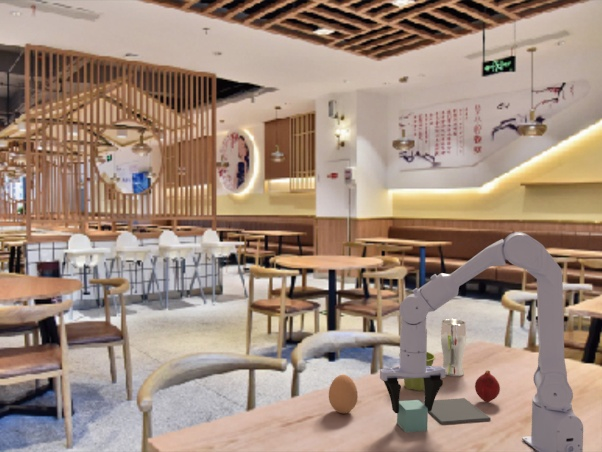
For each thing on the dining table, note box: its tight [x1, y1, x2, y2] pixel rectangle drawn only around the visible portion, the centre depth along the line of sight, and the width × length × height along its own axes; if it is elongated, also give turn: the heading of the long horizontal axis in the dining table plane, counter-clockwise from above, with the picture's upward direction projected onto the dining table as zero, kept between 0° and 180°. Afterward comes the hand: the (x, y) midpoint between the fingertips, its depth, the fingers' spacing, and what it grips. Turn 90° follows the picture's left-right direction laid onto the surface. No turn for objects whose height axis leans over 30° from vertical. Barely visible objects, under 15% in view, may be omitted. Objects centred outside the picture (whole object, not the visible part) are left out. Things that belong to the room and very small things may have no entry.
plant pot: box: [398, 351, 436, 392], centre depth 140 cm, size 9×9×9 cm
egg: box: [328, 374, 358, 415], centre depth 123 cm, size 7×7×9 cm
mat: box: [419, 397, 492, 425], centre depth 124 cm, size 12×12×1 cm
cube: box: [396, 399, 429, 433], centre depth 115 cm, size 5×5×5 cm
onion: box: [474, 369, 501, 403], centre depth 130 cm, size 6×6×8 cm
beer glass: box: [440, 318, 467, 377], centre depth 151 cm, size 7×7×15 cm
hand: (411, 410), depth 115 cm, fingers open, 7 cm apart
